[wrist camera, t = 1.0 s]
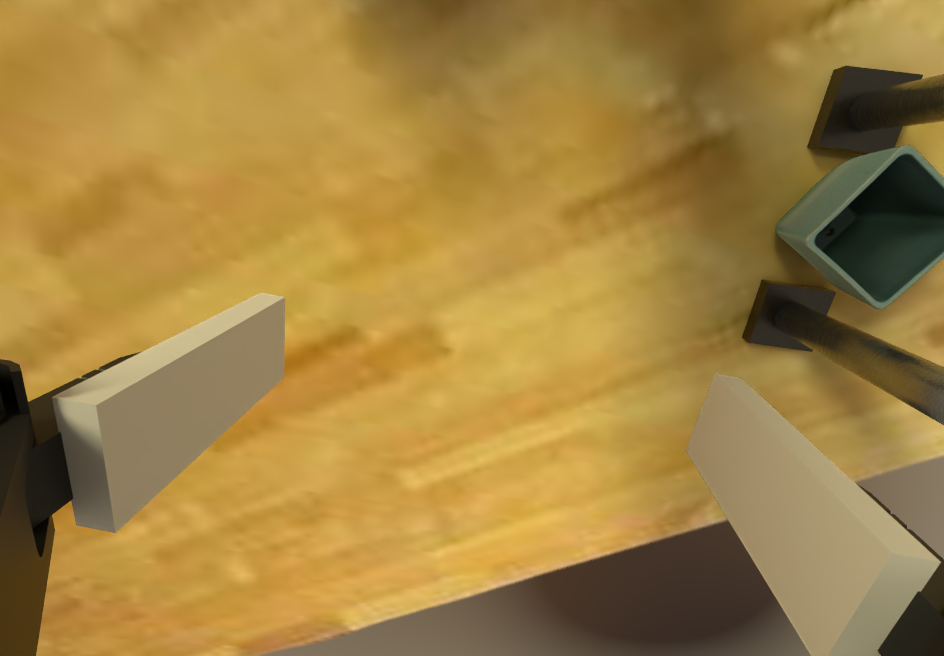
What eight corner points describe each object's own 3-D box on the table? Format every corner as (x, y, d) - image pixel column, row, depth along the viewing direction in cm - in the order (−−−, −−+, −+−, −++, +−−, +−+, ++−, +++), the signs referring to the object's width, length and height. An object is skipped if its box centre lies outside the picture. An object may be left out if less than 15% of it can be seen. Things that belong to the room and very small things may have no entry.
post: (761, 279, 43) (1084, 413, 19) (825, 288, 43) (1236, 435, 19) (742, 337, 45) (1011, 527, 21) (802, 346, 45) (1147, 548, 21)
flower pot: (891, 212, 41) (990, 221, 32) (809, 286, 43) (881, 313, 35) (824, 148, 40) (909, 140, 31) (744, 229, 42) (802, 242, 34)
